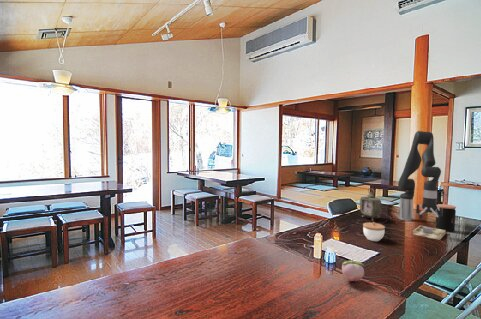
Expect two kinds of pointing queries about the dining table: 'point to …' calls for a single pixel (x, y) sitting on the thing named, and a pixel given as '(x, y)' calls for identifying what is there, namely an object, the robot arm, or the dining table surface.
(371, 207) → the tabletop clock
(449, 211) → the coffee jar
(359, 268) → the decorative fruit
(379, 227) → the lidded bowl
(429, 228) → the gray cube
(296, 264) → the dining table surface
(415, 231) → the tray
